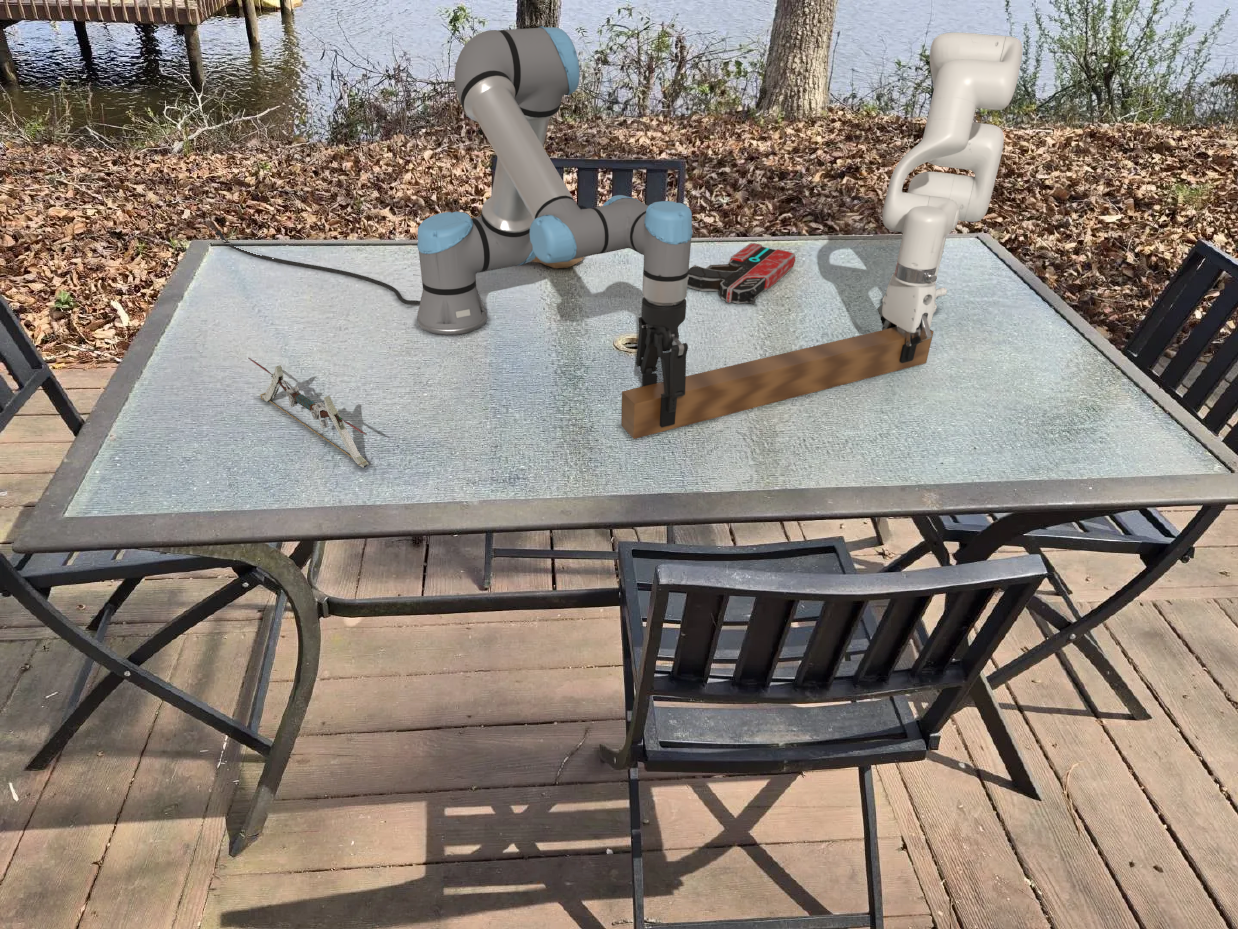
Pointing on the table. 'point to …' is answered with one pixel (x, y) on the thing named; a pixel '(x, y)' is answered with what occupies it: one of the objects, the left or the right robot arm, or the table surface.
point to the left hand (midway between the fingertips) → (657, 415)
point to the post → (771, 380)
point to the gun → (743, 273)
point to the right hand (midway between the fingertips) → (896, 354)
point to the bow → (313, 411)
